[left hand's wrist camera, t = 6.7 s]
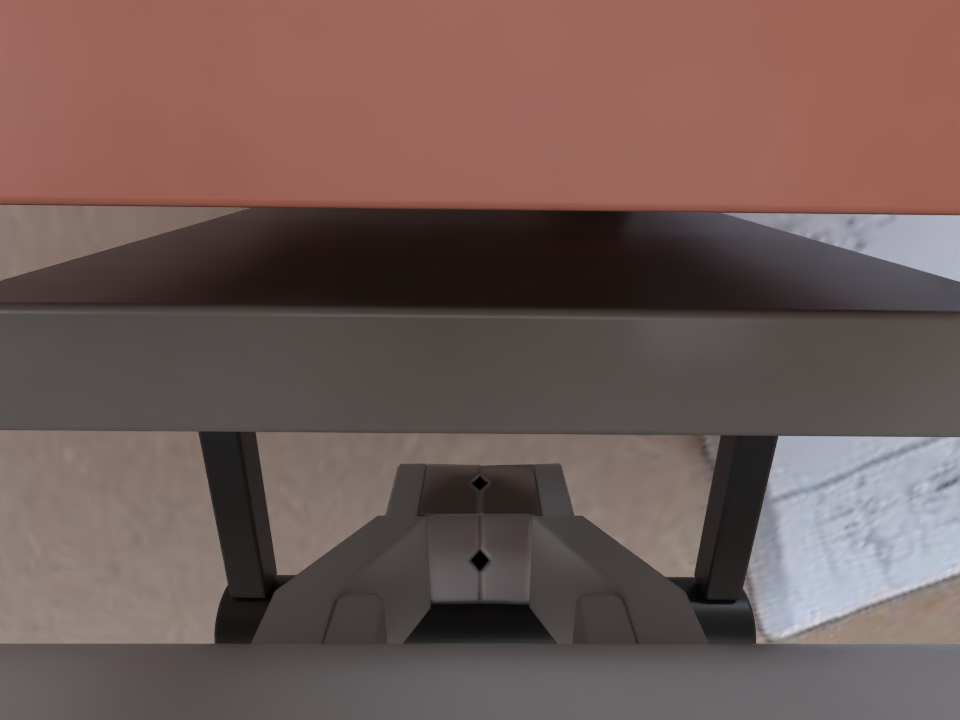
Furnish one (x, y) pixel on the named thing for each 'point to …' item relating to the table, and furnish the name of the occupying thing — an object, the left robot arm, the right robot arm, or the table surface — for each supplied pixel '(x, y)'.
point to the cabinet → (484, 104)
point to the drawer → (482, 357)
